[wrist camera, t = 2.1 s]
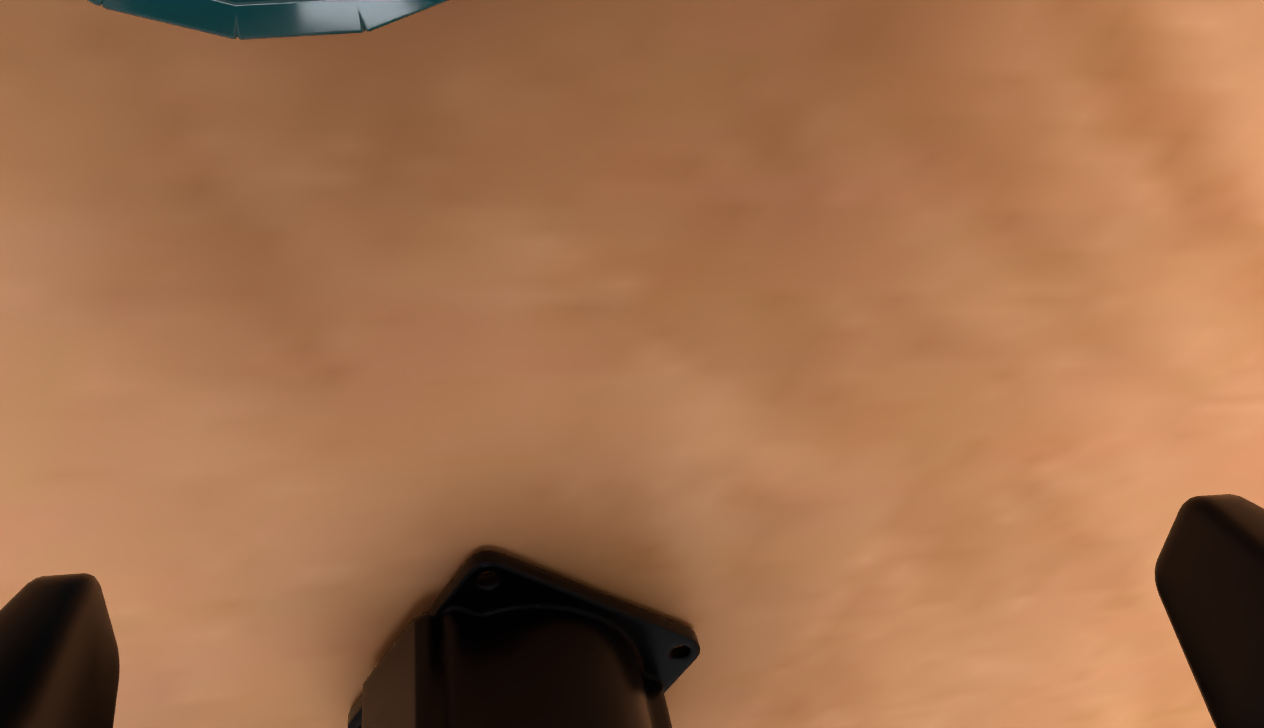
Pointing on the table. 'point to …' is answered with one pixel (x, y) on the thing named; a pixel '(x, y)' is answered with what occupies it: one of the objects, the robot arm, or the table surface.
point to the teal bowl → (272, 15)
